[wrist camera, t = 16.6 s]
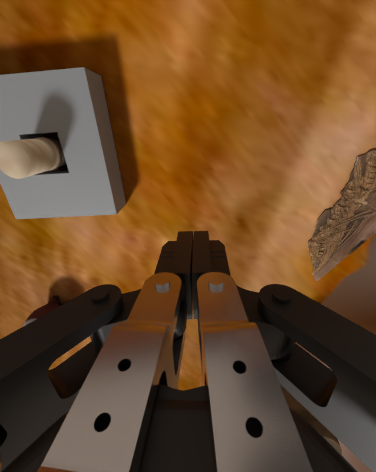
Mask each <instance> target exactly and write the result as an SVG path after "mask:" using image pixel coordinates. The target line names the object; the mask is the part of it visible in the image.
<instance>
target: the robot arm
mask: <svg viewBox="0 0 376 472" xmlns="http://www.w3.org/2000/svg"><path fill="white" fill-rule="evenodd" d="M193 311H194V319H198V337H199V349H200V361H201V373H202V386H201V387H197V388H194V389H190V390H185V391H181V390H178V379H179V373H180V366H181V360H182V354H183V347H184V341H185V329H186V321H187V319H192V312H193ZM89 336H90V338H91V340H92V342H90V343H89V344H87V345H86V346H85V347H83V348H82V349H81V350H79V351H78V352H76V353H75V354H74V355H72V356H71V357H69V358H68V359H67V360H65V361H64V362H63V363H61V364H60V365H58V366H57V367H56V368H54V369H52V370H48V369H49V367H50V366H51V364H52V363H53V362H54V361H55V360H56V359H57V358H59V357H60V356H62V355H63V354H65V353H66V352H67V351H69V350H70V349H72V348H73V347H75V346H76V345H77V344H79V343H80V342H82V341H83V340H84V339H86V338H87V337H89ZM295 342H297V343H298V344H300V345H301V346H302V347H303V348H305V349H306V350H308V351H309V352H310V353H312V354H313V355H314V356H316V357H317V358H318V359H320V360H321V361H322V362H324V363H325V364H326V365H327V366H329V367H330V369H331V370H332V371H331V370H330V369H329V368H327V367H326V366H325V365H323V364H322V363H321V362H319V361H318V360H317V359H315V358H314V357H313V356H311V355H310V354H309V353H307V352H306V351H305V350H303V349H302V348H301V347H299V346H298V345H297V344H295ZM280 385H282V386H283V387H284V388H285V389H286V390H287V391H288V392H289V393H290V394H291V395H292V396H293V397H294V398H295V399H296V400H297V401H298V402H299V403H301V404H302V405H303V406H304V407H305V408H306V409H307V410H308V411H309V412H310V413H311V414H312V415H313V416H314V417H315V418H316V419H317V420H319V421H320V422H321V423H322V424H323V425H324V426H325V427H326V428H327V429H328V430H329V431H330V432H331V433H332V434H333V435H334V436H335V437H336V438H338V439H339V440H340V441H341V442H342V443H343V444H344V445H345V446H346V447H347V448H348V449H349V450H350V451H351V452H352V453H353V454H354V455H356V456H357V457H358V458H359V459H360V460H361V461H362V462H363V463H364V464H365V465H366V466H367V467H368V468H369V469H370V470H371V471H372V472H376V335H375V334H373V333H371V332H369V331H368V330H366V329H364V328H362V327H360V326H359V325H357V324H355V323H353V322H352V321H350V320H348V319H346V318H344V317H343V316H341V315H339V314H337V313H335V312H334V311H332V310H330V309H328V308H327V307H325V306H323V305H321V304H319V303H318V302H316V301H314V300H312V299H311V298H309V297H307V296H305V295H303V294H302V293H300V292H298V291H296V290H294V289H293V288H291V287H288V286H285V285H280V284H271V285H267V286H264V287H263V288H262V289H261V290H260V292H259V293H257V292H253V291H249V290H245V289H243V288H241V287H239V286H237V285H236V284H235V281H234V280H233V278H232V277H231V276H230V271H229V266H228V261H227V256H226V251H225V246H224V245H223V244H222V243H221V242H220V241H219V240H209V234H208V231H194V240H193V231H184V232H178V237H177V241H168V242H167V243H166V244H165V245H164V246H163V247H162V250H161V254H160V257H159V260H158V263H157V267H156V270H155V273H154V275H152V276H150V277H149V278H148V279H147V280H146V281H145V282H144V285H143V287H142V289H139V290H137V291H133V292H128V293H124V294H121V290H120V288H118V287H117V286H115V285H110V284H106V285H100V286H97V287H94V288H92V289H90V290H88V291H86V292H85V293H83V294H81V295H79V296H77V297H76V298H74V299H72V300H70V301H68V302H67V303H65V304H63V305H61V306H59V307H58V308H56V309H54V310H52V311H51V312H49V313H47V314H45V315H43V316H42V317H40V318H38V319H36V320H34V321H33V322H31V323H29V324H27V325H25V326H24V327H22V328H20V329H18V330H16V331H15V332H13V333H11V334H9V335H7V336H6V337H4V338H2V339H0V472H357V471H356V470H355V469H354V468H353V467H352V466H351V465H350V464H349V463H348V462H347V461H346V460H345V459H344V457H343V456H342V455H341V454H340V453H339V452H338V451H337V450H336V449H335V448H334V447H333V446H332V445H331V444H330V443H329V442H328V441H327V440H326V439H325V438H324V437H323V436H322V435H321V434H320V433H319V432H318V431H317V430H316V429H315V428H314V427H313V426H312V425H311V424H310V423H309V422H308V421H307V420H305V419H304V418H303V417H302V416H301V415H300V414H298V413H297V412H295V411H294V410H293V409H291V408H290V407H288V405H287V402H286V399H285V397H284V394H283V391H282V389H281V386H280Z"/></svg>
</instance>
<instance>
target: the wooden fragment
mask: <svg viewBox="0 0 376 472" xmlns="http://www.w3.org/2000/svg"><path fill="white" fill-rule="evenodd" d="M341 194H342V195H343V196H342V197H341V198H340V199H339V200H338V201H337V202H336V203H335V205H334V206H333V208H330V209H327V210H326V211H324V212H323V213H322V215H321V216H320V217H319V219H318V220H317V222H318V224H317V226H316V231H315V234H314V235H313V237H312V239H310V240H309V241H308V244H309V245H308V246H309V249H310V256H311V257H312V258H311V259H312V264H313V268H314V271H313V276H314V279H316V281H318V280H319V279H320V278H321V277H323V276H324V275H325V274H326V273H328V272H329V271H330V270H331V269H332V268H334V267H335V266H336V265H337V264H338V263H339V262H341V261H342V260H343V259H344V258H346V257H347V256H348V255H349V254H351V253H352V252H354V251H355V250H356V249H357V248H358V247H359V246H361V245H362V244H363V243H364V242H365V241H366V240H367V239H369V238H370V237H371V236H372V235H373V234H374V233H375V232H376V150H370V151H368V152H367V153H366V154H363V155H360V156H357V157H356V162H355V166H354V170H353V171H352V172H351V176H350V180H349V182H348V184H347V185H345V187H344V189H343V190H342V191H341Z"/></svg>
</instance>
